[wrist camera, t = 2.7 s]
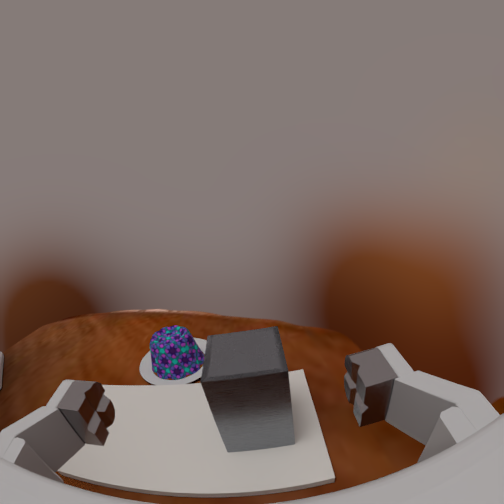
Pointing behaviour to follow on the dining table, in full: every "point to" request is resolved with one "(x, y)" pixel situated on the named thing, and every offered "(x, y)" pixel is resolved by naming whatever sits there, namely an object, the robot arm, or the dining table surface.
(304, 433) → the placemat
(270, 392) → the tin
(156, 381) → the pudding
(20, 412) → the dining table surface
